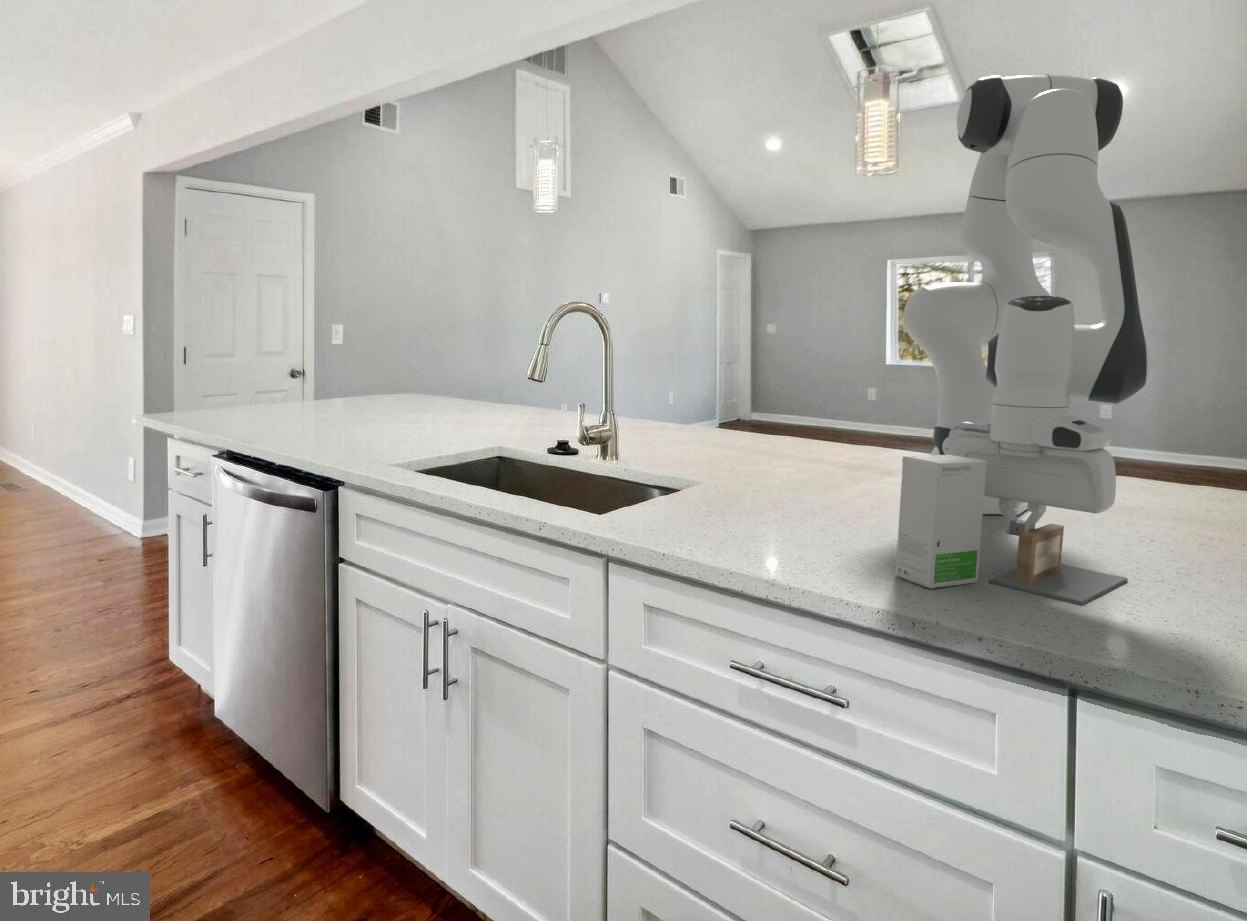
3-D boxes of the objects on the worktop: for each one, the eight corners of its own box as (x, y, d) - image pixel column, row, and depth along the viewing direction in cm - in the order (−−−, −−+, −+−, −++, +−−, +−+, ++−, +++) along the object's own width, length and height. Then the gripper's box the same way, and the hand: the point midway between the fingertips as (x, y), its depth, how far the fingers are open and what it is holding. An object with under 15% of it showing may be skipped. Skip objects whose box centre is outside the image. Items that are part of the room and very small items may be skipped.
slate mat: (1037, 562, 112) (1038, 559, 112) (1127, 581, 104) (1127, 578, 104) (988, 581, 103) (988, 578, 103) (1081, 604, 95) (1081, 601, 95)
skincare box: (929, 590, 100) (937, 463, 97) (891, 575, 106) (898, 455, 103) (980, 582, 103) (990, 459, 100) (941, 568, 109) (949, 451, 106)
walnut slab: (1046, 568, 108) (1051, 523, 107) (1060, 571, 106) (1064, 525, 105) (1015, 581, 102) (1019, 534, 101) (1029, 584, 101) (1033, 537, 100)
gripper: (938, 422, 109) (931, 524, 111) (1105, 438, 93) (1094, 556, 96) (962, 419, 113) (955, 517, 115) (1126, 433, 97) (1115, 547, 100)
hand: (1019, 535), depth 105 cm, fingers closed
